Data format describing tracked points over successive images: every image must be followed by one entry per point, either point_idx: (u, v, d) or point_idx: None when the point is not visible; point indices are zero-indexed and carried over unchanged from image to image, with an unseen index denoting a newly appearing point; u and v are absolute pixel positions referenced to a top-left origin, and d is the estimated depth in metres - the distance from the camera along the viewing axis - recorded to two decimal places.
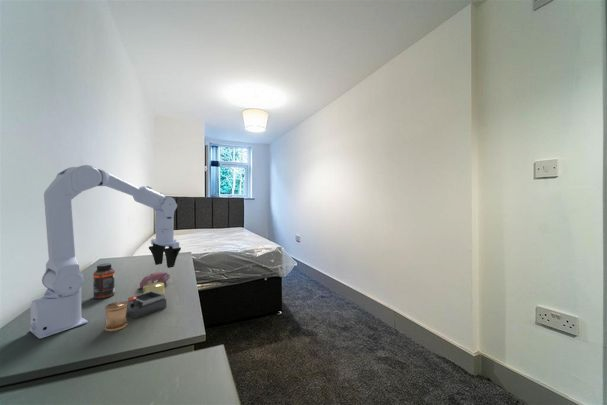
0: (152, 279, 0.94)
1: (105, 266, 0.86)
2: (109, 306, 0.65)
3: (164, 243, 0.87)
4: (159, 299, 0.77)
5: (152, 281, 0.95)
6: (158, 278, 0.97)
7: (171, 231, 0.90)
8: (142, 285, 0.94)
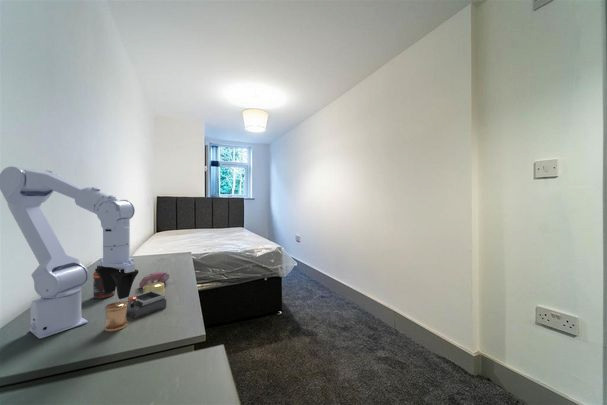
0: (152, 279, 0.95)
1: None
2: (109, 306, 0.65)
3: (113, 265, 0.63)
4: (159, 299, 0.77)
5: (152, 281, 0.95)
6: (158, 278, 0.97)
7: (125, 248, 0.65)
8: (142, 285, 0.94)
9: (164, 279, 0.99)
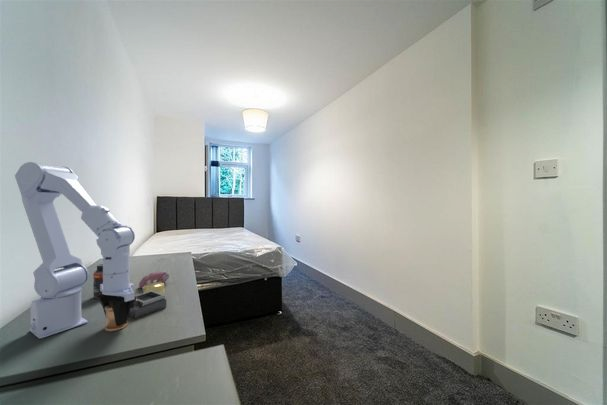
0: (151, 279, 0.95)
1: None
2: (109, 306, 0.65)
3: (113, 294, 0.63)
4: (159, 299, 0.77)
5: (151, 281, 0.95)
6: (157, 278, 0.97)
7: (125, 275, 0.65)
8: (141, 285, 0.94)
9: (164, 279, 0.99)
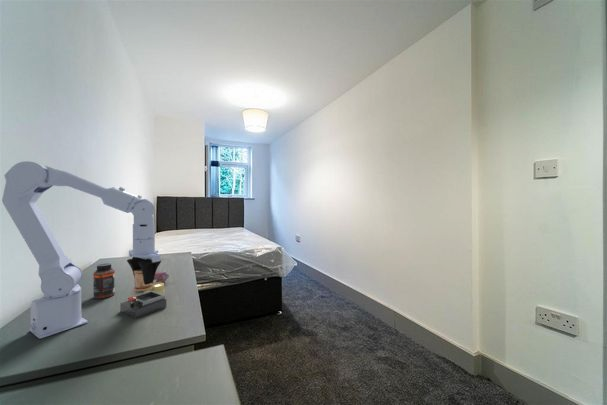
0: None
1: (105, 266, 0.86)
2: (137, 270, 0.75)
3: (142, 256, 0.72)
4: (159, 299, 0.77)
5: None
6: (157, 278, 0.97)
7: (151, 241, 0.75)
8: None
9: (163, 279, 0.99)
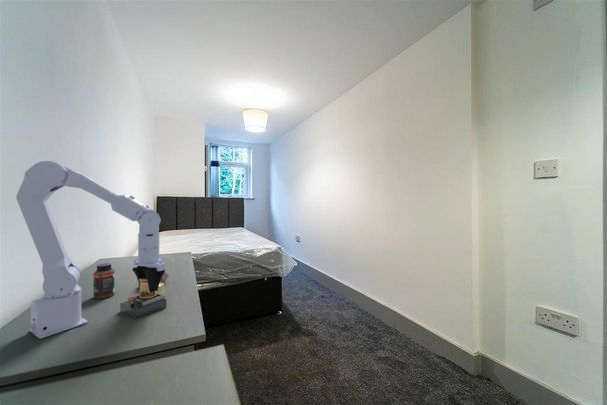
0: None
1: (105, 266, 0.86)
2: (142, 278, 0.77)
3: (147, 265, 0.75)
4: (159, 299, 0.77)
5: None
6: None
7: (156, 250, 0.77)
8: None
9: (163, 279, 0.99)
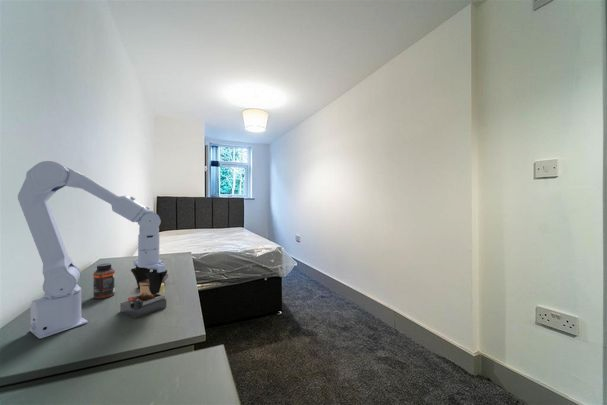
0: None
1: (105, 266, 0.86)
2: (142, 282, 0.77)
3: (147, 266, 0.75)
4: (159, 299, 0.77)
5: None
6: None
7: (156, 251, 0.77)
8: None
9: None
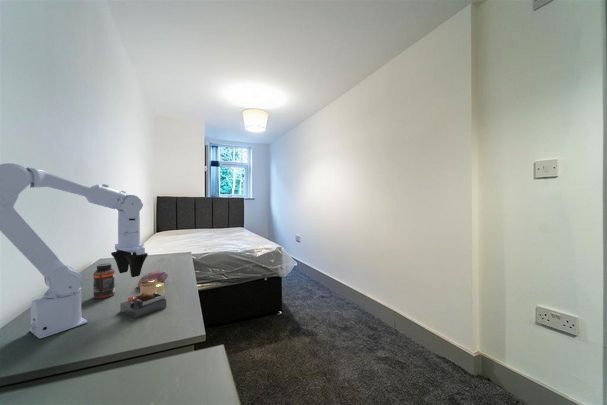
0: (150, 278, 0.95)
1: (105, 266, 0.86)
2: (142, 282, 0.77)
3: (127, 249, 0.75)
4: (159, 299, 0.77)
5: None
6: (156, 277, 0.98)
7: (136, 235, 0.78)
8: None
9: (162, 278, 0.99)
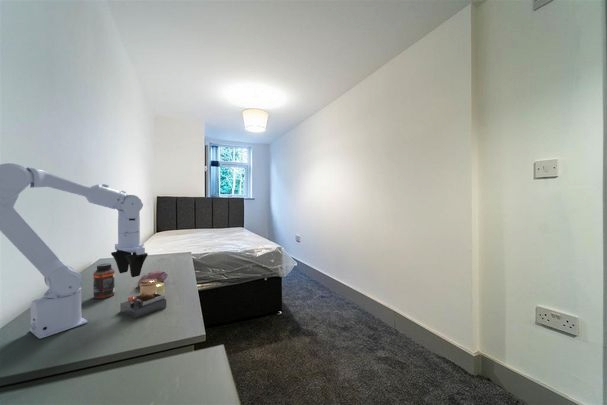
0: (150, 278, 0.96)
1: (105, 266, 0.86)
2: (142, 282, 0.77)
3: (127, 249, 0.75)
4: (159, 299, 0.77)
5: None
6: (156, 277, 0.98)
7: (136, 235, 0.78)
8: None
9: (162, 278, 1.00)
